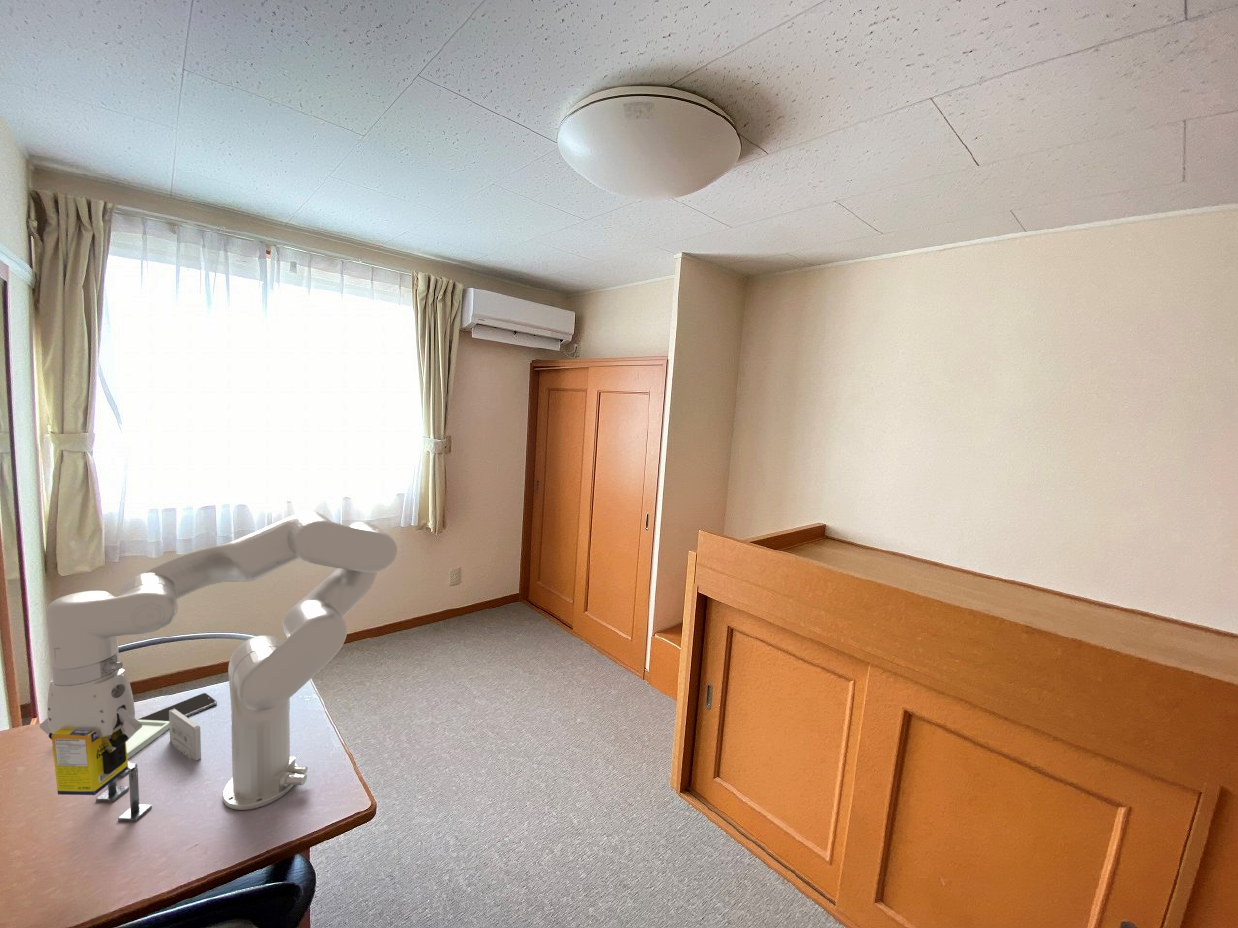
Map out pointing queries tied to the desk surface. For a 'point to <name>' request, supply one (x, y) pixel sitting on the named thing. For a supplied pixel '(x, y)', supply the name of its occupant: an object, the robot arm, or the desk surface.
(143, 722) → the tray
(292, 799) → the desk surface
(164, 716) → the smartphone
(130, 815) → the metal handrail
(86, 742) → the supplement box
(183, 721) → the cassette
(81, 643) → the robot arm
